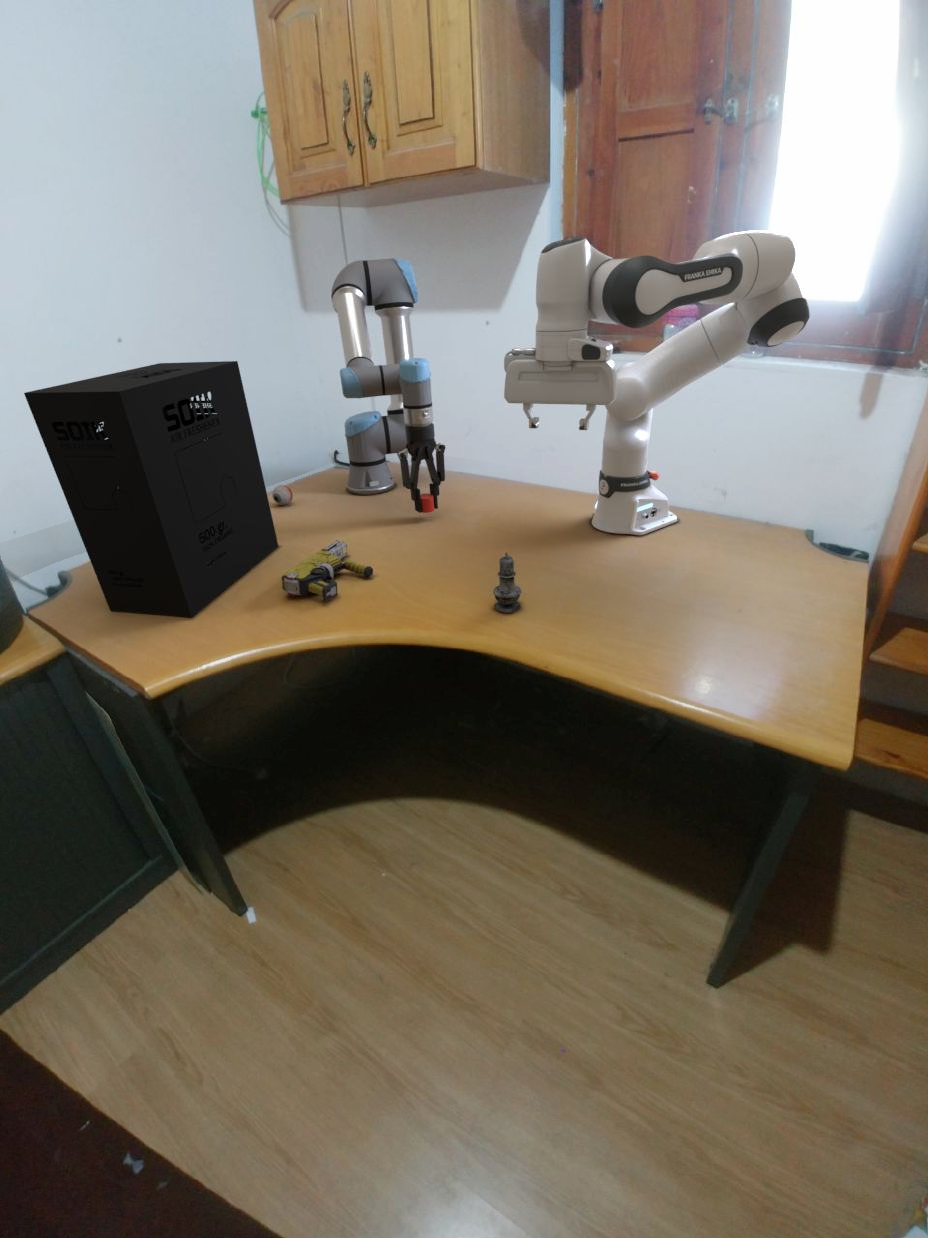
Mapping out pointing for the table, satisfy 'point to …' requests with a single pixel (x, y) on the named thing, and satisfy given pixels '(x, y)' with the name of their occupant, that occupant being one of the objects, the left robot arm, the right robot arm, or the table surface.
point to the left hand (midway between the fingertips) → (426, 509)
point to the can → (427, 503)
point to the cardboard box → (160, 481)
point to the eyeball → (282, 495)
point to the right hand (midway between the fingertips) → (558, 428)
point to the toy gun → (321, 572)
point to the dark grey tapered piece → (507, 586)
